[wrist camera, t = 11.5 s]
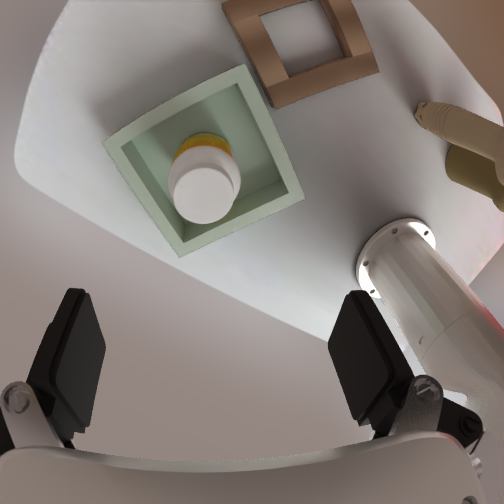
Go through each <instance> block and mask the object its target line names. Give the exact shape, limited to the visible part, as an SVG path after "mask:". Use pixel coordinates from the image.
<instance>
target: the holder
mask: <svg viewBox="0 0 504 504" xmlns="http://www.w3.org/2000/svg"><path fill="white" fill-rule="evenodd" d="M307 1H311V0H229V1H226V2H224V3H222V10H223V11H224V13H225V15H226V17H227V19H228V20H229V22H230V24H231V26H232V28H233V30H234V32H235V34H236V35H237V37H238V39H239V41H240V43H241V45H242V47H243V49H244V51H245V53H246V55H247V57H248V59H249V61H250V63H251V65H252V67H253V69H254V71H255V73H256V75H257V77H258V79H259V81H260V83H261V85H262V87H263V89H264V91H265V94H266V96H267V98H268V100H269V102H270V104H271V106H272V107H273V108H274V109H279V108H281V107H283V106H286V105H288V104H291V103H293V102H296V101H298V100H301V99H303V98H306V97H308V96H311V95H314V94H316V93H319V92H322V91H324V90H327V89H330V88H333V87H336V86H338V85H341V84H344V83H347V82H350V81H353V80H356V79H359V78H362V77H366V76H369V75H372V74H375V73H379V69H378V66H377V63H376V60H375V57H374V54H373V52H372V49H371V46H370V44H369V41H368V39H367V36H366V34H365V31H364V29H363V26H362V24H361V22H360V19H359V17H358V15H357V12H356V10H355V8H354V6H353V4H352V2H351V0H319V1H320V3H321V5H322V7H323V9H324V11H325V14H326V16H327V18H328V20H329V22H330V24H331V27H332V29H333V31H334V33H335V36H336V38H337V40H338V43H339V45H340V47H341V50H342V52H343V55H344V57H343V58H339V59H336V60H333V61H330V62H327V63H324V64H321V65H318V66H315V67H312V68H309V69H306V70H304V71H301V72H298V73H295V74H293V75H290V76H288V75H287V73H286V71H285V68H284V66H283V64H282V62H281V60H280V58H279V56H278V53H277V51H276V49H275V47H274V45H273V43H272V41H271V39H270V37H269V35H268V33H267V31H266V29H265V27H264V25H263V23H262V21H261V20H260V18H259V16H261V15H264V14H267V13H270V12H273V11H276V10H279V9H283V8H286V7H289V6H293V5H296V4H300V3H303V2H307Z"/></svg>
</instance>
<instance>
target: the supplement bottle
mask: <svg viewBox="0 0 504 504" xmlns="http://www.w3.org/2000/svg"><path fill="white" fill-rule="evenodd" d="M240 184H241V177H240V171H239V168H238V165H237V161H236V158H235V154H234V151H233V148H232V146H231V145H230V143H229V142H228V141H227V140H226V139H225V138H224V137H223V136H221V135H219V134H217V133H214V132H209V131H201V132H196V133H194V134H192V135H190V136H188V137H187V138H186V139H185V140H184V141H183V142H182V143H181V145H180V146H179V148H178V150H177V153H176V155H175V158H174V160H173V162H172V165H171V168H170V170H169V174H168V188H169V192H170V195H171V197H172V198H173V202H174V205H175V208H176V209H177V211H178V212H179V214H180V215H181V216H182V217H184V218H185V219H187V220H189V221H191V222H194V223H198V224H208V223H212V222H215V221H218V220H219V219H221V218H222V217H224V216H225V215H226V214H227V213H228V212H229V210H230V209H231V207H232V204H233V201H234V200H235V198H236V197H237V195H238V192H239V189H240Z"/></svg>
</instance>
